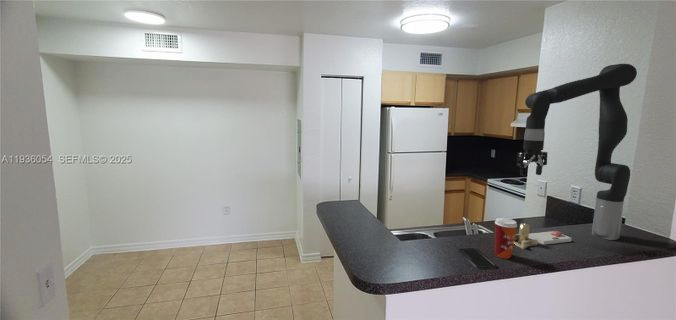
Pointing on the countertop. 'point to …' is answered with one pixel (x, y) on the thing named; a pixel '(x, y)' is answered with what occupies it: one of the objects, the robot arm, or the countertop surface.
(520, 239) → the cell
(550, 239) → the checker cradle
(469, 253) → the phone
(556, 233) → the button
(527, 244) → the beige channel block
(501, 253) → the paper cup
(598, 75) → the robot arm
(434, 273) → the countertop surface
